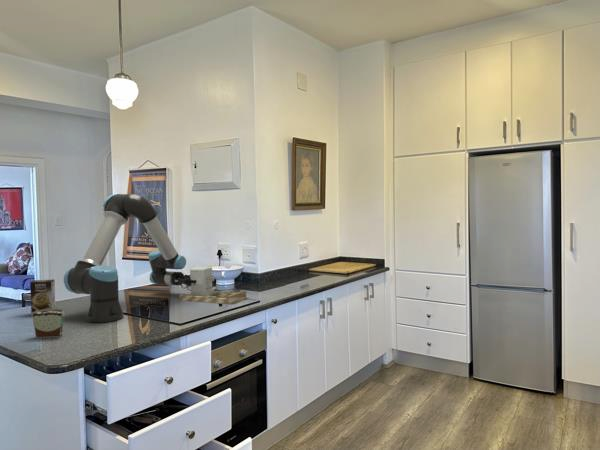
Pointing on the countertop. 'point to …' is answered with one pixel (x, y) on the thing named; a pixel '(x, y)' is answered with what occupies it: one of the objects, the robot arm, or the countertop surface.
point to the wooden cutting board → (213, 298)
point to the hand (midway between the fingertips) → (207, 280)
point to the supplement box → (206, 277)
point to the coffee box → (42, 295)
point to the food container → (48, 322)
